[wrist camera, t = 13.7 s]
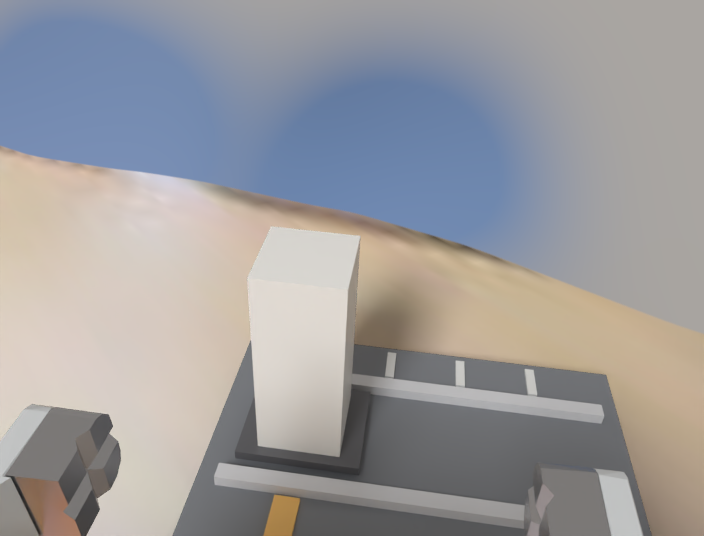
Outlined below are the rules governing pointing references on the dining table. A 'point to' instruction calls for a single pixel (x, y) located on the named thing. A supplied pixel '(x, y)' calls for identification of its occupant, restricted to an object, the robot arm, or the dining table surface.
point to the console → (416, 452)
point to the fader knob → (304, 353)
